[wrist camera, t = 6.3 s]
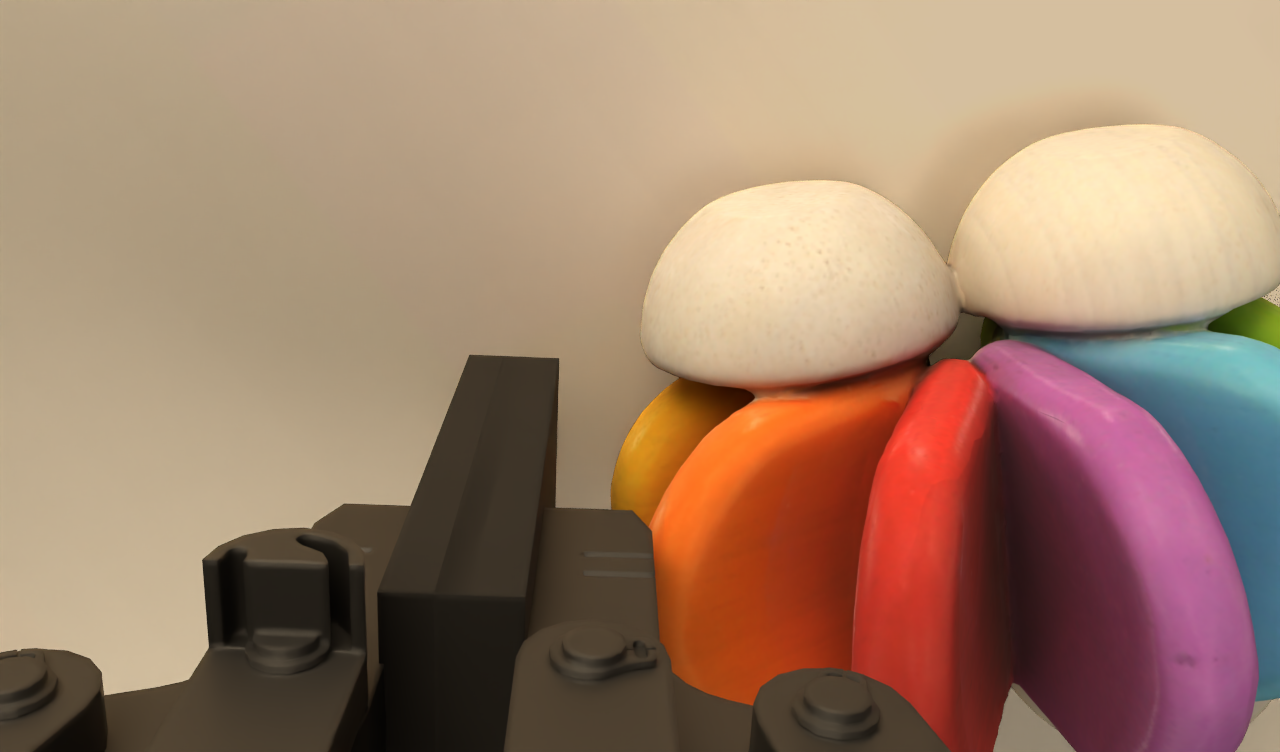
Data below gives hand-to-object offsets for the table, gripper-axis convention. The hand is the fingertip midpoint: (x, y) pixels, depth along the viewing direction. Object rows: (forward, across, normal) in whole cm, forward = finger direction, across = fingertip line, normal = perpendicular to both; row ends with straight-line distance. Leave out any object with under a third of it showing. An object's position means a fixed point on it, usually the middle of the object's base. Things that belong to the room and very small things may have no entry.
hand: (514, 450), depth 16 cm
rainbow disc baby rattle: (+2, +6, 0) cm, 6 cm away
